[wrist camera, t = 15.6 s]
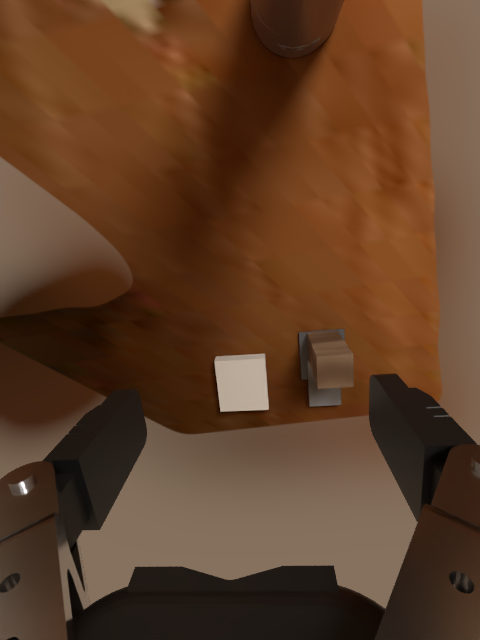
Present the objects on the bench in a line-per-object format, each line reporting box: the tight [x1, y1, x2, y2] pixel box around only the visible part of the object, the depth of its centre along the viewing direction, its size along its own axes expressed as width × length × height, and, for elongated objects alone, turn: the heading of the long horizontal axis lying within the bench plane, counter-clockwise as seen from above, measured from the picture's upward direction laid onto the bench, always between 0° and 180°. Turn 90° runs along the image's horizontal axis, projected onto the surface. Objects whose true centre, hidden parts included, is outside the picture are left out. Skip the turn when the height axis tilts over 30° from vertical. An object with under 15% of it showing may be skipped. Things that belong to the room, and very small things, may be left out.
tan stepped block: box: [307, 331, 353, 406], centre depth 41 cm, size 11×4×8 cm, turn 6°
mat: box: [299, 329, 344, 380], centre depth 44 cm, size 7×6×1 cm
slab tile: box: [214, 354, 269, 412], centre depth 46 cm, size 2×7×8 cm
